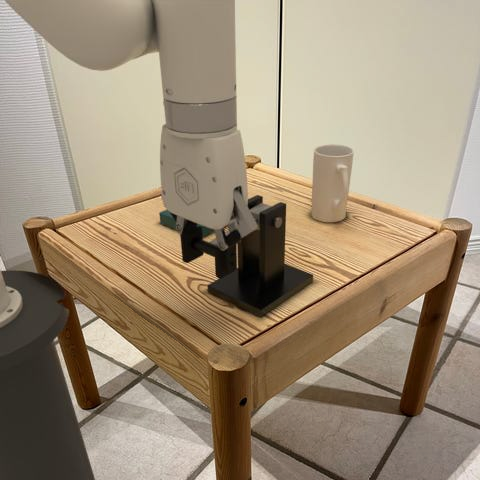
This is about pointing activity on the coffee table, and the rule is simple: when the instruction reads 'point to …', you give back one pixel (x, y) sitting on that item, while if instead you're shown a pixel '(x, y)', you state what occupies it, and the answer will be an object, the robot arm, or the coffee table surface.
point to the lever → (210, 246)
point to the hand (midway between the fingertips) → (209, 264)
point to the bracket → (262, 266)
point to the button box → (170, 222)
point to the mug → (331, 182)
